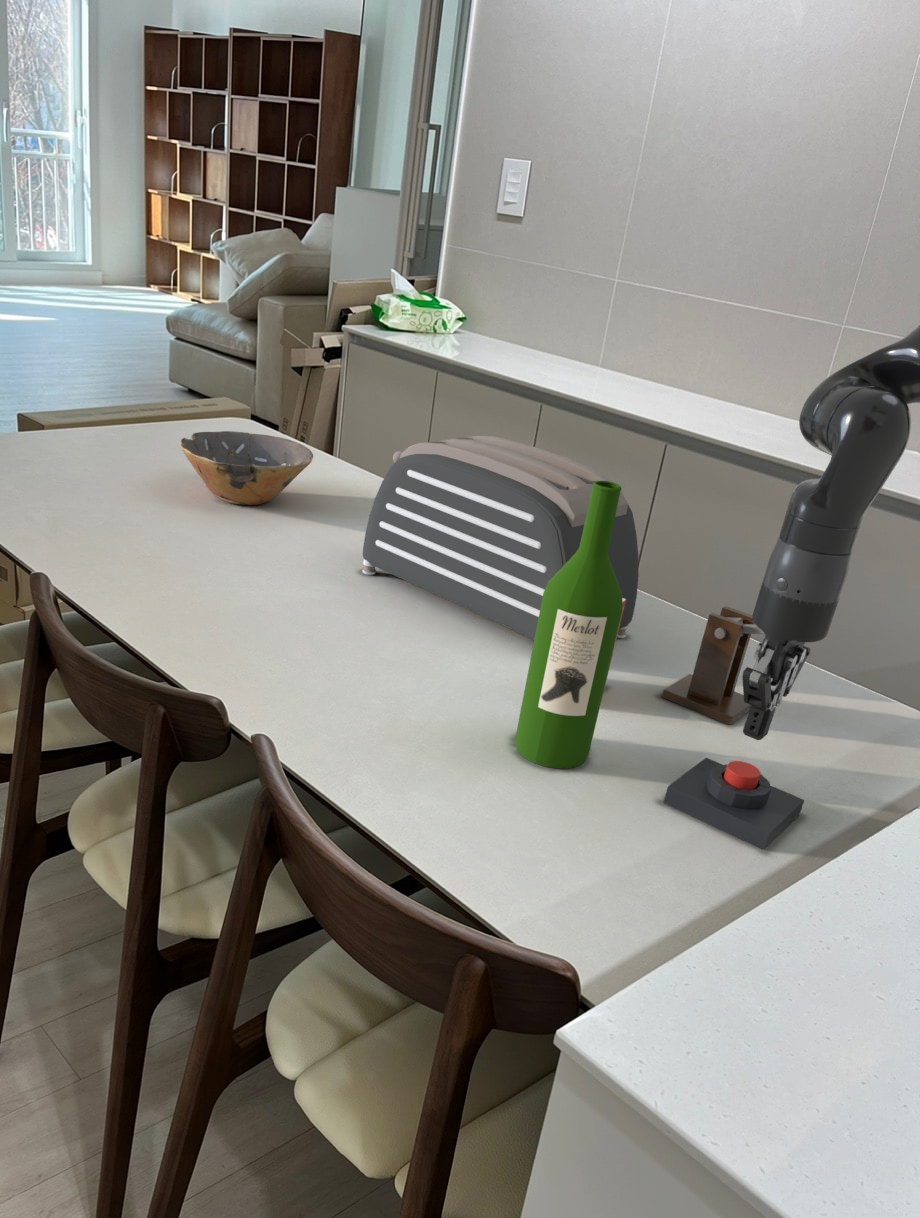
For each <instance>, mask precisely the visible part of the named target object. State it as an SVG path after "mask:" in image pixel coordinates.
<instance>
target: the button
mask: <svg viewBox="0 0 920 1218" xmlns="http://www.w3.org/2000/svg"><path fill="white" fill-rule="evenodd" d="M727 764H728V765H727V768H726V771H725V774H724V781H726V782H727V783H728V784H730V785H732V786H734V787H737V788H740V789H745V790H753V789H755V788H756V787H757V784H758V780H759V777H760V774H761V775H762V773H761V771H760V769H759V768H758V767H757V766H755V765H754V764H751V763H749V762H746V761H742V760H732V761H729V762H728V763H727Z"/></svg>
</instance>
